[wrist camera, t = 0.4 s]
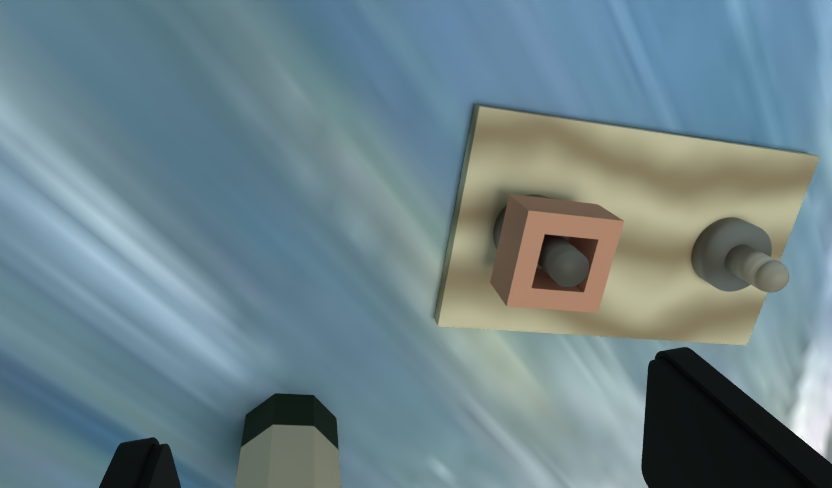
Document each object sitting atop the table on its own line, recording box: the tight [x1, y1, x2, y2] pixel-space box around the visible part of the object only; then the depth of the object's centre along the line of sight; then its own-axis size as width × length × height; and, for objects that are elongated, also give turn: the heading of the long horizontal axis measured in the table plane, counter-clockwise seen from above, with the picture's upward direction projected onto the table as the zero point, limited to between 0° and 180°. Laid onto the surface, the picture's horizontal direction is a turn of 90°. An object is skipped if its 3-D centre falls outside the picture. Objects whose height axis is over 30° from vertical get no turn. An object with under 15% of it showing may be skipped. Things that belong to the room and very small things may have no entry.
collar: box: [490, 194, 624, 313], centre depth 42 cm, size 7×7×4 cm
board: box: [434, 104, 820, 345], centre depth 46 cm, size 18×30×10 cm, turn 81°
